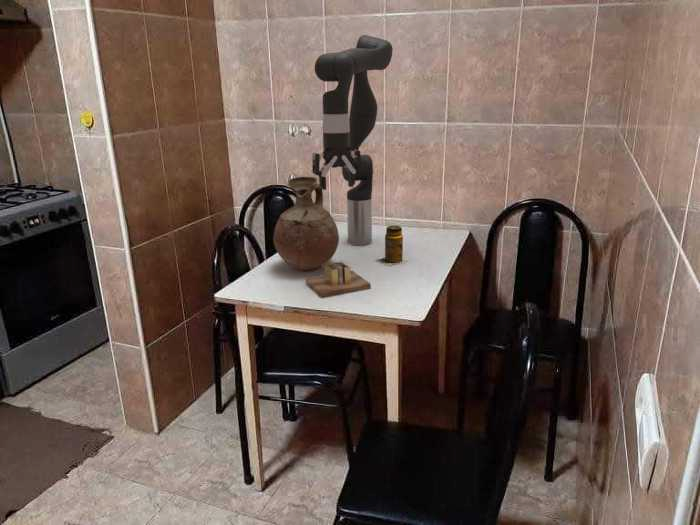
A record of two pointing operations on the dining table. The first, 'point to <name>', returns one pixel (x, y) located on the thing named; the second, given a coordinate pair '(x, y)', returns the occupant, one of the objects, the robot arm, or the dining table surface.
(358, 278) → the keyed stand
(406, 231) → the dining table surface
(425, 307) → the dining table surface
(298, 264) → the jug
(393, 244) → the condiment
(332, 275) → the collar
